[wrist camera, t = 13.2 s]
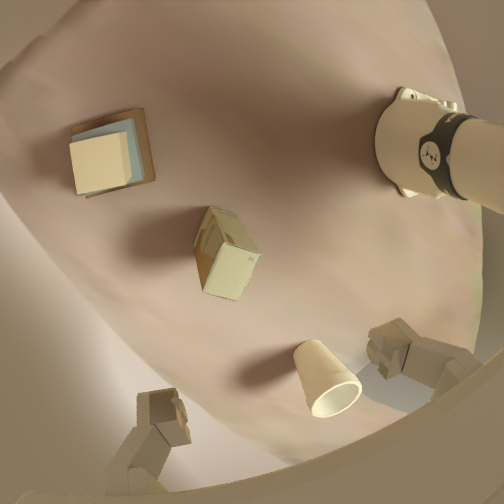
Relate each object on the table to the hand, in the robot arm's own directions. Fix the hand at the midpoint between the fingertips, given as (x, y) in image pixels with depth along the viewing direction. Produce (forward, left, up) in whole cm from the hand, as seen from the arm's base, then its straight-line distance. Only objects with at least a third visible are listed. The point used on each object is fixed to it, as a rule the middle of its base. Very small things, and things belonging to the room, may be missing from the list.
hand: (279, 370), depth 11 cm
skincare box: (-1, +6, -31) cm, 32 cm away
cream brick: (+10, -7, -26) cm, 28 cm away
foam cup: (-14, +34, -31) cm, 48 cm away
